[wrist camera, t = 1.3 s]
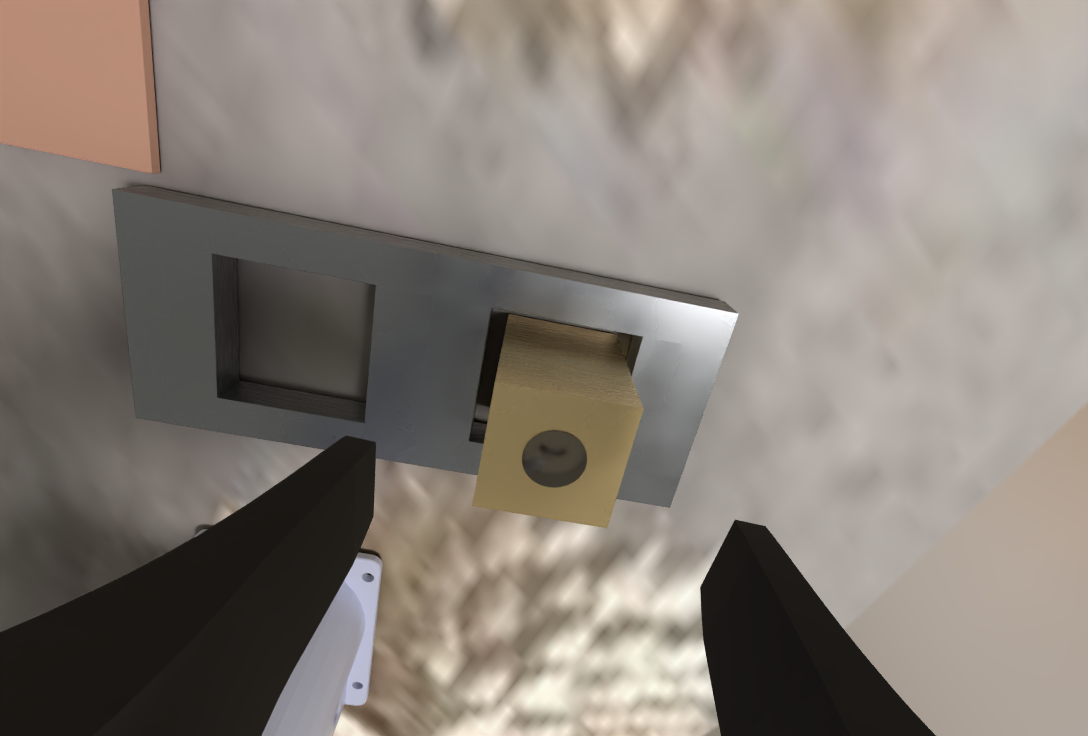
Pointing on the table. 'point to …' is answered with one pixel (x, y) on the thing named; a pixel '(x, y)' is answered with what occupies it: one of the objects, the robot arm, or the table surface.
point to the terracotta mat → (79, 80)
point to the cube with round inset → (558, 424)
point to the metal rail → (389, 335)
